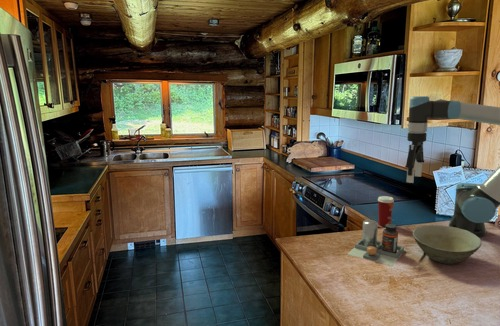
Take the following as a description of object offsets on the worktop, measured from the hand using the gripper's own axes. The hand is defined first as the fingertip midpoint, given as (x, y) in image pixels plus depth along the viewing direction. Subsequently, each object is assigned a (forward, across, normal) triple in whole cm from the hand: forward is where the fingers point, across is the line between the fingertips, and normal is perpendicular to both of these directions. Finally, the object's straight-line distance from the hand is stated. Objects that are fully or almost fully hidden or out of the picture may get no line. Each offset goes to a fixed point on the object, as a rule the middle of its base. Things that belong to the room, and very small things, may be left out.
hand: (414, 179), depth 163 cm
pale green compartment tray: (+27, +28, -6) cm, 39 cm away
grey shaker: (+26, +25, -10) cm, 37 cm away
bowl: (+27, +17, +17) cm, 36 cm away
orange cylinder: (+24, +34, -6) cm, 42 cm away
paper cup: (+27, -7, -14) cm, 31 cm away
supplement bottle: (+26, +25, -2) cm, 36 cm away
